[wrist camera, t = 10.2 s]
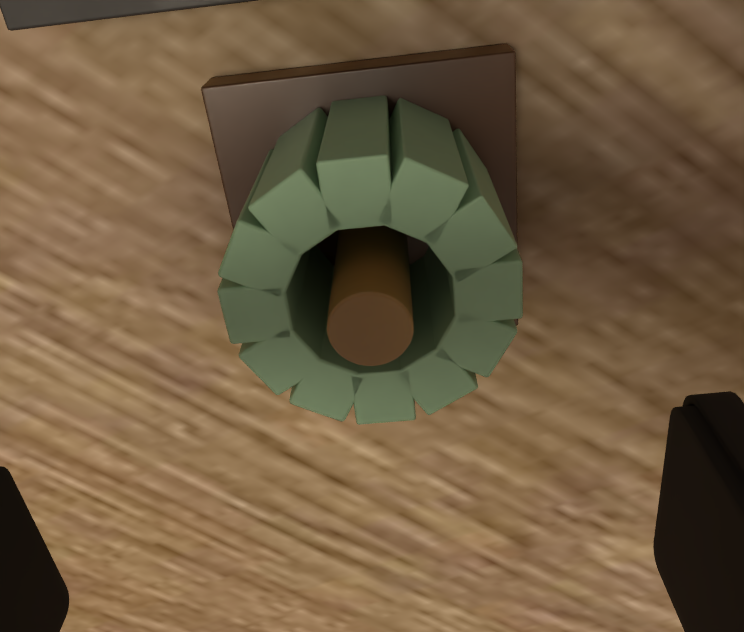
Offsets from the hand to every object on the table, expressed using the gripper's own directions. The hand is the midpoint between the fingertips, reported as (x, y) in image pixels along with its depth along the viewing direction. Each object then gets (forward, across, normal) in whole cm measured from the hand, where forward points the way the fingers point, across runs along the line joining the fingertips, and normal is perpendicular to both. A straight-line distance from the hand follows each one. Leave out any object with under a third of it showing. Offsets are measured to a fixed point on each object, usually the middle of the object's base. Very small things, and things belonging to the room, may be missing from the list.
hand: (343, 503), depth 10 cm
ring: (+11, 0, 0) cm, 11 cm away
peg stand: (+12, 0, 0) cm, 12 cm away
